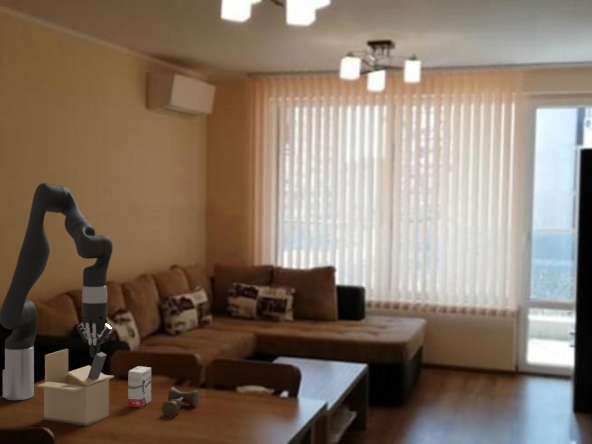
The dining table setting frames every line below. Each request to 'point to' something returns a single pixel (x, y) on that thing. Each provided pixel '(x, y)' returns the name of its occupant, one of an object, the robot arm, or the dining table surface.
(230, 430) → the dining table surface
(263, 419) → the dining table surface
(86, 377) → the flap
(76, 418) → the carton
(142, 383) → the ink box
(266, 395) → the dining table surface
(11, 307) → the robot arm
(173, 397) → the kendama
